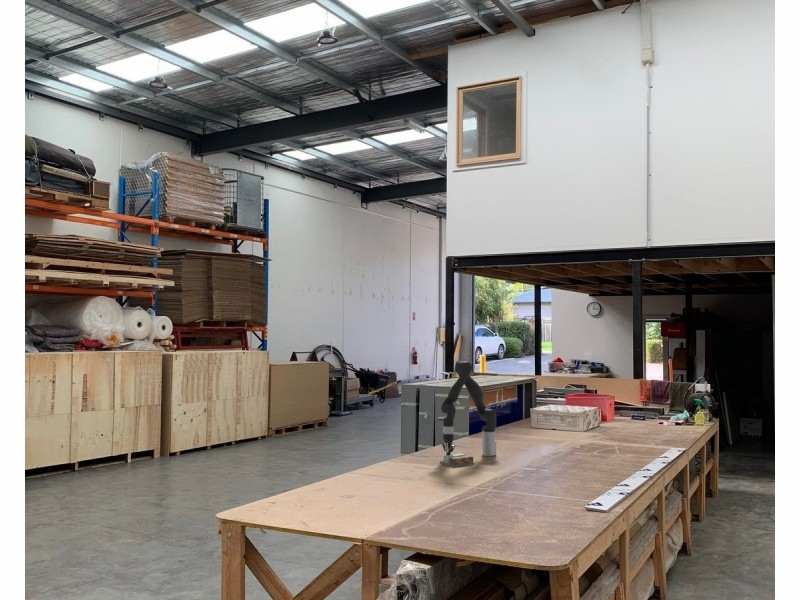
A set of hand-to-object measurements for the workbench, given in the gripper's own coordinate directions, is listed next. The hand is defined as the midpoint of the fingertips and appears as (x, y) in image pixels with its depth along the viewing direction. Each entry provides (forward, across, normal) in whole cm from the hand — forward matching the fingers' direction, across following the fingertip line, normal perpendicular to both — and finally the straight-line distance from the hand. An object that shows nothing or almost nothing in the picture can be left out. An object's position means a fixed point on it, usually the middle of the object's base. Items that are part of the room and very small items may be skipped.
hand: (448, 457), depth 453 cm
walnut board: (+1, -15, 0) cm, 15 cm away
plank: (+1, -7, 0) cm, 7 cm away
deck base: (+2, -10, 0) cm, 10 cm away
